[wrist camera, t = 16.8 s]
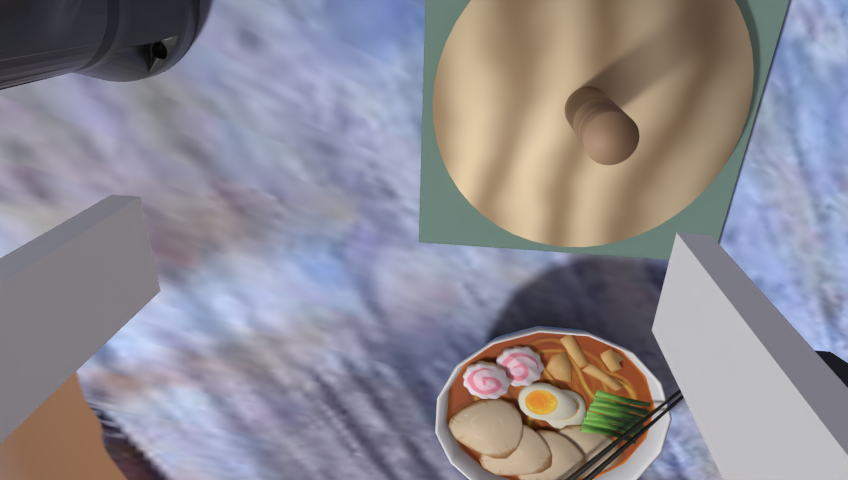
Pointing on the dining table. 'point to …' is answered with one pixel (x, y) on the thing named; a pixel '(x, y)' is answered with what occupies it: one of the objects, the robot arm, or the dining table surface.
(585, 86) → the lid
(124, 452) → the dining table surface
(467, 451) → the ramen bowl
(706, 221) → the mat
